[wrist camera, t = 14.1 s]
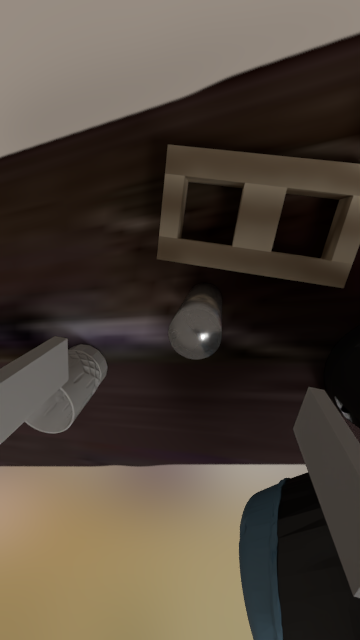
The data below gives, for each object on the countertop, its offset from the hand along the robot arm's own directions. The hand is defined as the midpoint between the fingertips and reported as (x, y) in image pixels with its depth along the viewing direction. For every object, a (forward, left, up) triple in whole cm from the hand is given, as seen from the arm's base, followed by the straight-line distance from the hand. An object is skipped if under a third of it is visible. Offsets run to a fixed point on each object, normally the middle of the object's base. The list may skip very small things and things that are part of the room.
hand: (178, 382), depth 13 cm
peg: (0, 0, -19) cm, 19 cm away
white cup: (-13, +16, -19) cm, 28 cm away
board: (+10, -4, -19) cm, 22 cm away
